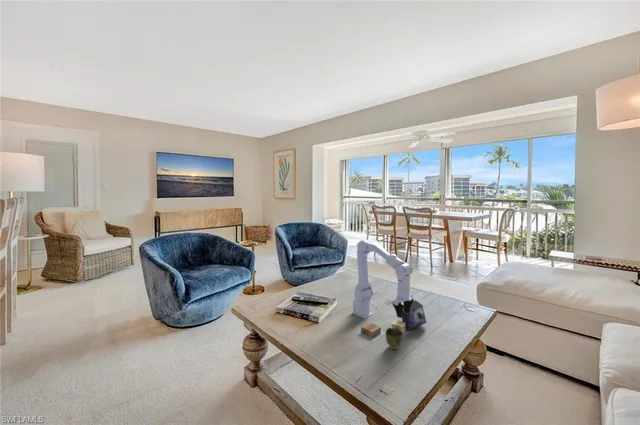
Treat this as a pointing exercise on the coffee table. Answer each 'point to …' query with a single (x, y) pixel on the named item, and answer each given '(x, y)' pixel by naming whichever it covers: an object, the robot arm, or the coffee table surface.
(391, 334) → the cup
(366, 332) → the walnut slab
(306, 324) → the coffee table surface
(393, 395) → the coffee table surface
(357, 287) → the robot arm
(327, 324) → the coffee table surface
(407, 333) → the code tile
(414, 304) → the small box
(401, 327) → the oak block
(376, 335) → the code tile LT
